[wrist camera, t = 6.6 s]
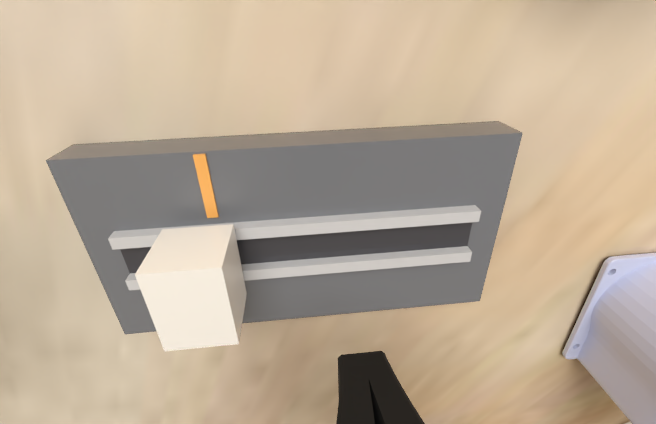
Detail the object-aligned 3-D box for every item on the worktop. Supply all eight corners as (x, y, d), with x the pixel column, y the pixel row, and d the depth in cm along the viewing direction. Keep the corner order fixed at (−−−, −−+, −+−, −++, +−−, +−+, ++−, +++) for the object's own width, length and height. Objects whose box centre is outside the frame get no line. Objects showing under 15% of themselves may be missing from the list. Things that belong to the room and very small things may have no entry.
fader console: (464, 278, 22) (484, 308, 20) (139, 307, 20) (120, 343, 18) (498, 121, 17) (530, 137, 15) (73, 144, 16) (36, 165, 13)
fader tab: (248, 283, 18) (238, 344, 14) (188, 287, 17) (164, 351, 14) (236, 214, 16) (221, 267, 12) (167, 219, 15) (134, 274, 12)
